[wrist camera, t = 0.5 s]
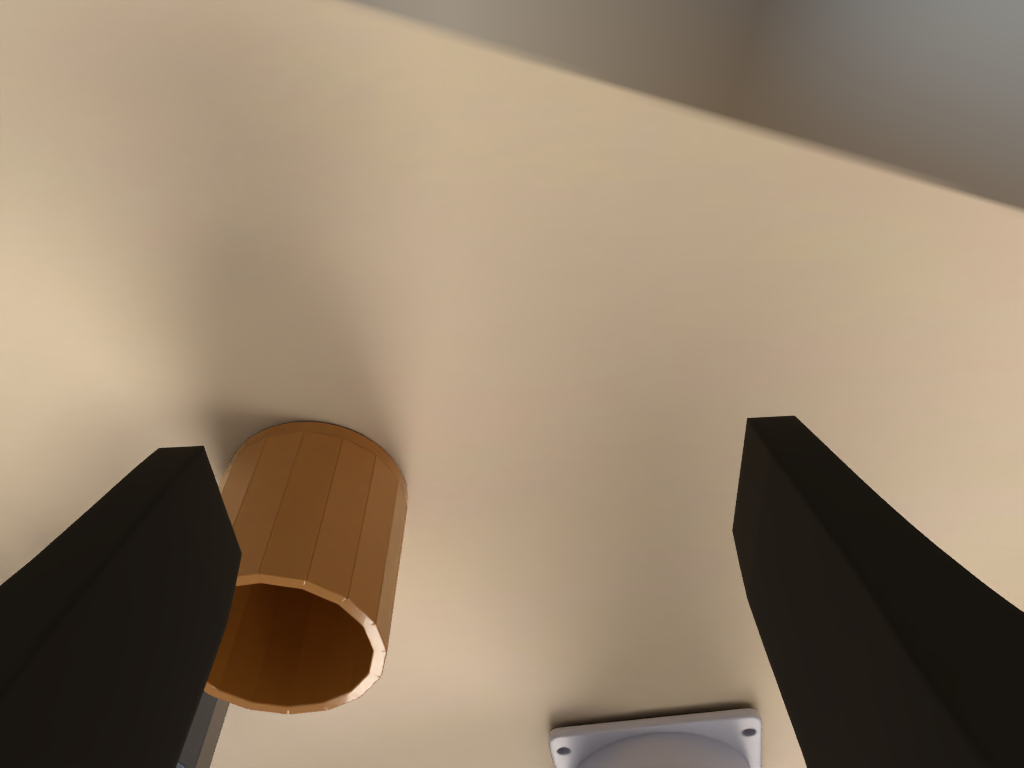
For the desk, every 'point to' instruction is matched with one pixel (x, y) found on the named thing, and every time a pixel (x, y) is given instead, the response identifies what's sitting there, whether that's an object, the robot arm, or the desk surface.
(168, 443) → the desk surface
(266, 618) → the orange tumbler
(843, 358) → the desk surface
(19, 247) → the desk surface
